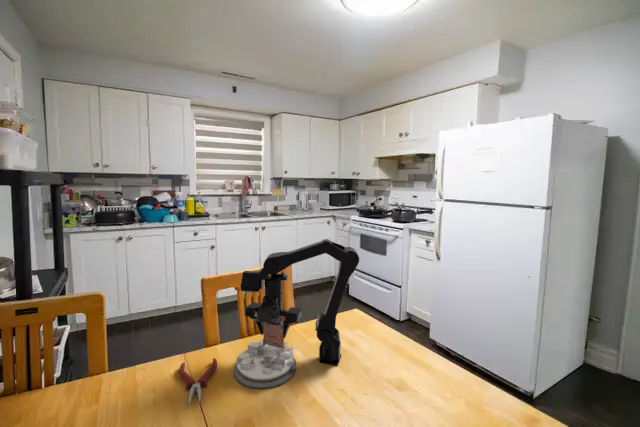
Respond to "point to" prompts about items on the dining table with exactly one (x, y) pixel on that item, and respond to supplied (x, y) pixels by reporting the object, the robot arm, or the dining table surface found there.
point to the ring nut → (265, 362)
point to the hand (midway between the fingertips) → (273, 336)
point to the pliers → (200, 383)
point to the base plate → (265, 384)
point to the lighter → (274, 333)
